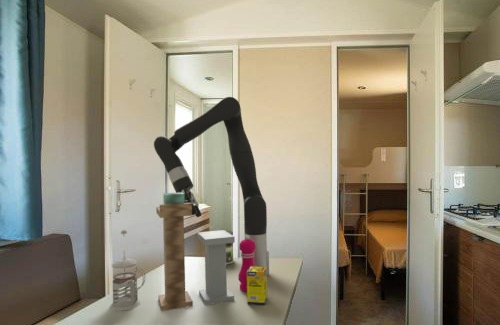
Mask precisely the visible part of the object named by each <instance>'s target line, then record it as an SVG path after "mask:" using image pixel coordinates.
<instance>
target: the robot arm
mask: <svg viewBox="0 0 500 325" xmlns="http://www.w3.org/2000/svg"><path fill="white" fill-rule="evenodd" d="M221 122H223V124H224V127H225V129H226V133H227V141H228V150H229V155H230V159H231V163H232V166H233V168H234V172H235V175H236V177H237V180H238V181H239V184H240V187H241V192H242V199H243V215H244V216H243V220H244V222H243V223H244V237H245V236H246V235H249V237H250V238H249V239H251V240H253V241H254V243H255V246H256V247H255V250H254V251H253V252H254V257H253V263H254V266H256V267H267V276H268V275H269V276H270V253H269V252H270V251H268V243H267V241H268V240H267V239H268V237H267V227H268V225H267V222H268V217H267V215H268V213H267V211H268V210H267V208H268V207H267V203H266V201H265V199H264V196H263V195H262V193H261V192H262V191H261V189H260V186H259V183H258V179H257V178H258V177H257V170H256V163H255V158H254V154H253V151H252V147H251V144H250V142H249V139H248V136H247V134H246V131H245V128H244V123H243V118H242V108H241V105H240V102H239V101H238V99H237V98H235V97H233V96H226V97H224V98H221V100H220V101H219V102H217V103H216V104H215V105H213V106H212V107H211V108H210V109H209V110H207V111H206V112H204V113H203V114H201V115H199V116H198V117H196V118H194V119H192V120H190V121H189V122H187V123H186V124H184V125H182V126H181V127H179V128H177V129H176V130H174V133H173V135H172V136H171V137H167V136H165V135H159V136H157V137H156V138H155V140H154V141H153V148H154V151H155V152H156V154H157V155H158V157H159V159H160V161H161V162H162V163H163V165H164V168H165V170H166V173H167V175H168V177H169V180H170V182H171V185H172V187H173V189H174V191H175V193H184V200H185V203H192V216H195V217H197V218H199V217H201V216H202V212H201V211H200V208H199V206H200V205H199V204H198V201H197V199H196V197H195V194H194V192H192V191H191V190H192V189H193V188H194V184H193V182H192V178H190V175H189V173H188V171H187V169H186V168H185V166H184V164H183V162H182V160H181V159H180V157H179V156H178V154H177V152H178V151H179V150H180V149H181V148H183V146H185V145H186V144H188V143H189V142H191V141H193V140H194V139H196V138H197V137H200V136H201V135H202V134H203V133H205V132H206V131H207V130H209V129H210V128H212V127H213V126H215V125H217V124H218V123H221Z"/></svg>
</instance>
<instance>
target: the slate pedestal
mask: <svg viewBox="0 0 500 325" xmlns="http://www.w3.org/2000/svg"><path fill="white" fill-rule="evenodd" d="M226 231H227V230H225V229H223V230H222V229H221V230H212V231H211V230H210V231H198V232H196V235H197V236H196V237H197V239H198V240H199V241H200V242H201V243H202V244H203V245H204V266H205V267H204V268H205V269H204V270H205V273H204V274H205V277H204V278H205V289H200V290H199V291H198V294H199V295H198V296H199V297H200V298H201V300H202V302H203V304H204V305H205V306H206V305H207V306H208V305H213V304H219V303H220V304H221V303H226V302H231V301H235V295H234V294H233V293H232V292H231V290H229V288H228V287H227V283H228V282H227V265H226V243H233V244H235V240H236V239H235V236H234V235H231V234H229V233H228V232H226Z"/></svg>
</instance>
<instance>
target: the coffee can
mask: <svg viewBox="0 0 500 325" xmlns="http://www.w3.org/2000/svg"><path fill="white" fill-rule="evenodd" d="M225 231H226V232H228V233H229V234H231V235H233V233H234V232H233V231H232V230H225ZM233 236H234V235H233ZM233 263H234V243H226V266H227V265H230V264H233Z"/></svg>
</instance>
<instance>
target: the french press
mask: <svg viewBox="0 0 500 325" xmlns="http://www.w3.org/2000/svg"><path fill="white" fill-rule="evenodd" d="M120 234H121V235H123V236H125V235H126V234H128V232H127V230H125V229H122V230H121V231H120ZM125 254H126V253H125V251H123V258H120V259H119V260H116V261H114V262H113V263H111V267H112V268H113V269H123V272H119V273H116V274H115V275H113V280H112V302H111V304H110V306H109V309H111V310H112V311H126V310H130V309H134V308H136V307H138V306H139V305H141V301H140V300H139V298H138V294H139V293H138V290H140V289H141V288H142V287H143V286H144V284H145V282H146V273H145V271H144V269H142V267H139V266H136V265H137V263H138V261H137V260H135V259H133V258H129V257H128V258H126V257H125V256H126V255H125ZM134 266H136V267H135V268H134V272H133V271H132V272H131V271H129V272H128V271H127V272H126V268H132V267H134ZM137 271H138V272H140V273H141V276H142V283H141V285H140V286H139V287H138V278H137V277H136V276H137V274H136V273H137ZM127 281H128V282H127ZM121 288H122V289H121Z"/></svg>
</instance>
